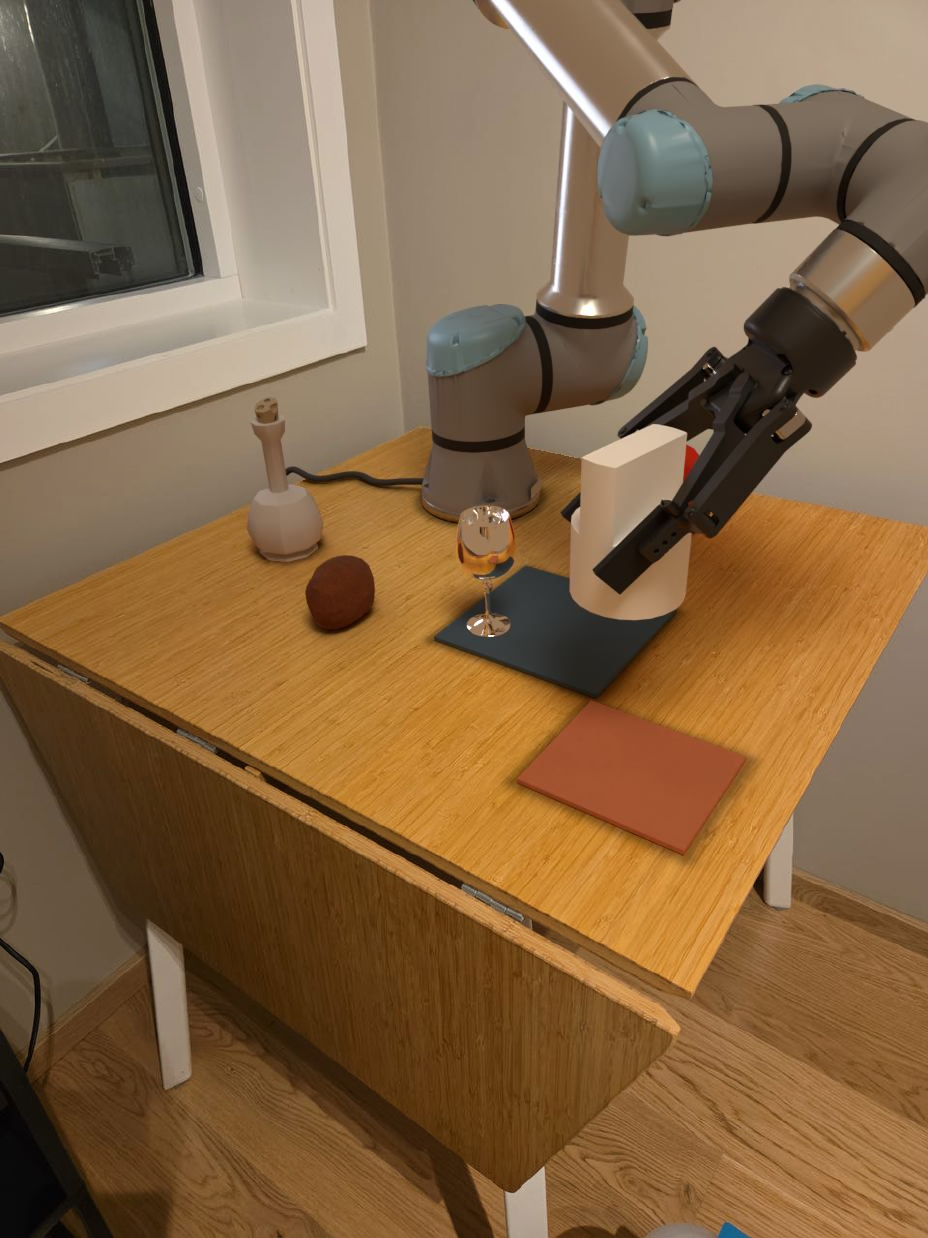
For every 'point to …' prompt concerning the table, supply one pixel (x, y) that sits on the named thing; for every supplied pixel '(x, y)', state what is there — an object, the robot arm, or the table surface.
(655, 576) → the base with upright slab
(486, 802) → the table surface
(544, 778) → the mat
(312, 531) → the potion bottle
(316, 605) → the potato
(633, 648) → the mat
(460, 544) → the wineglass
